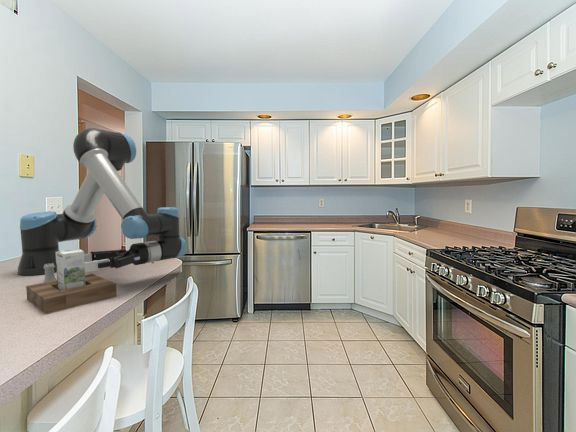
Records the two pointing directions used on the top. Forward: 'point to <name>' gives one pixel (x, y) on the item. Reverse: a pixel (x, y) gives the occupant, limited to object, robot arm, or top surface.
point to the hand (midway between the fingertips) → (76, 264)
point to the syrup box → (70, 269)
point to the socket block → (69, 293)
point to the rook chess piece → (49, 272)
